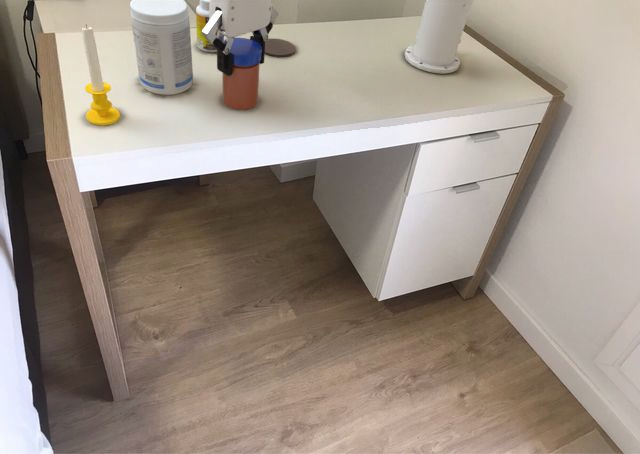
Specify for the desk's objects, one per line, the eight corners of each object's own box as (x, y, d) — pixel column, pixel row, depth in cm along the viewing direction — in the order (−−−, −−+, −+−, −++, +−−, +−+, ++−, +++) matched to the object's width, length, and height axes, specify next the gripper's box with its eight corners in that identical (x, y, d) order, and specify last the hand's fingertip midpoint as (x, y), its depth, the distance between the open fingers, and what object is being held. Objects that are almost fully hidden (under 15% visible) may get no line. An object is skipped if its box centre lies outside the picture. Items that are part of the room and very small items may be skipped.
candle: (83, 111, 85) (62, 18, 75) (115, 106, 88) (100, 15, 77) (91, 128, 82) (71, 33, 72) (124, 122, 85) (109, 29, 74)
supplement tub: (185, 69, 100) (181, -9, 90) (199, 93, 94) (196, 13, 84) (134, 74, 96) (123, -7, 86) (145, 99, 91) (135, 16, 81)
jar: (239, 88, 98) (240, 39, 91) (264, 102, 95) (267, 52, 89) (215, 99, 94) (214, 49, 87) (240, 114, 91) (242, 63, 85)
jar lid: (269, 59, 89) (270, 49, 88) (239, 70, 85) (240, 59, 84) (242, 44, 92) (242, 34, 91) (212, 54, 88) (212, 43, 87)
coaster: (275, 37, 116) (275, 35, 116) (302, 50, 113) (302, 48, 113) (250, 47, 111) (250, 44, 111) (278, 60, 108) (279, 58, 108)
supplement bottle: (203, 55, 105) (202, 4, 98) (192, 43, 109) (190, -7, 102) (228, 51, 108) (228, 2, 101) (217, 40, 111) (216, -9, 104)
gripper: (266, -58, 84) (261, 46, 97) (181, -43, 74) (187, 71, 86) (300, -44, 81) (290, 61, 94) (216, -27, 71) (217, 90, 83)
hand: (241, 65), depth 90 cm, fingers closed on jar lid, 6 cm apart
